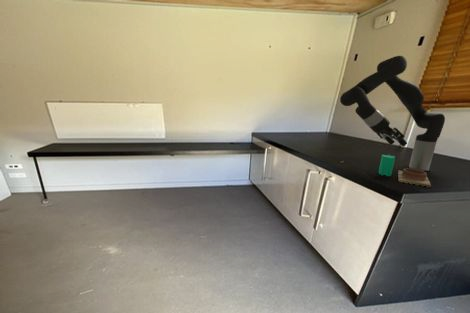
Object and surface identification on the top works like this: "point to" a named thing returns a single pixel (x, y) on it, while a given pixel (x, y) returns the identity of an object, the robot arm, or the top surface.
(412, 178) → the cup stand
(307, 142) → the top surface
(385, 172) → the candle
